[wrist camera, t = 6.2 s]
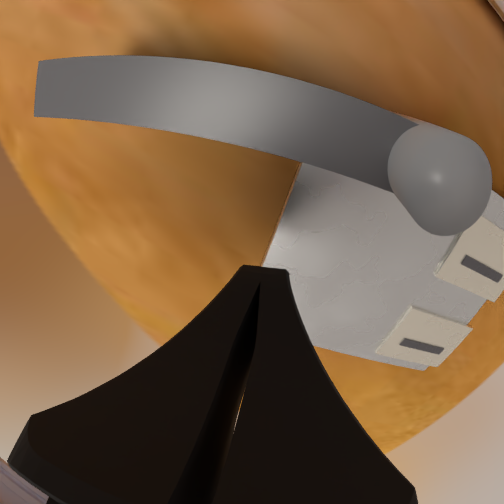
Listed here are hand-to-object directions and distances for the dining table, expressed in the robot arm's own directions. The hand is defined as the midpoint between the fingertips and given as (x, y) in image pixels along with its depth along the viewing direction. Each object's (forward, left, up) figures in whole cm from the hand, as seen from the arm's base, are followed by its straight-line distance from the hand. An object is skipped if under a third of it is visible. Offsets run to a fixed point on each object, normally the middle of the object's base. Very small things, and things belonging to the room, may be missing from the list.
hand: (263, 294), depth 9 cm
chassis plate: (-6, 0, -5) cm, 8 cm away
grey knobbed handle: (+2, -5, -3) cm, 6 cm away
